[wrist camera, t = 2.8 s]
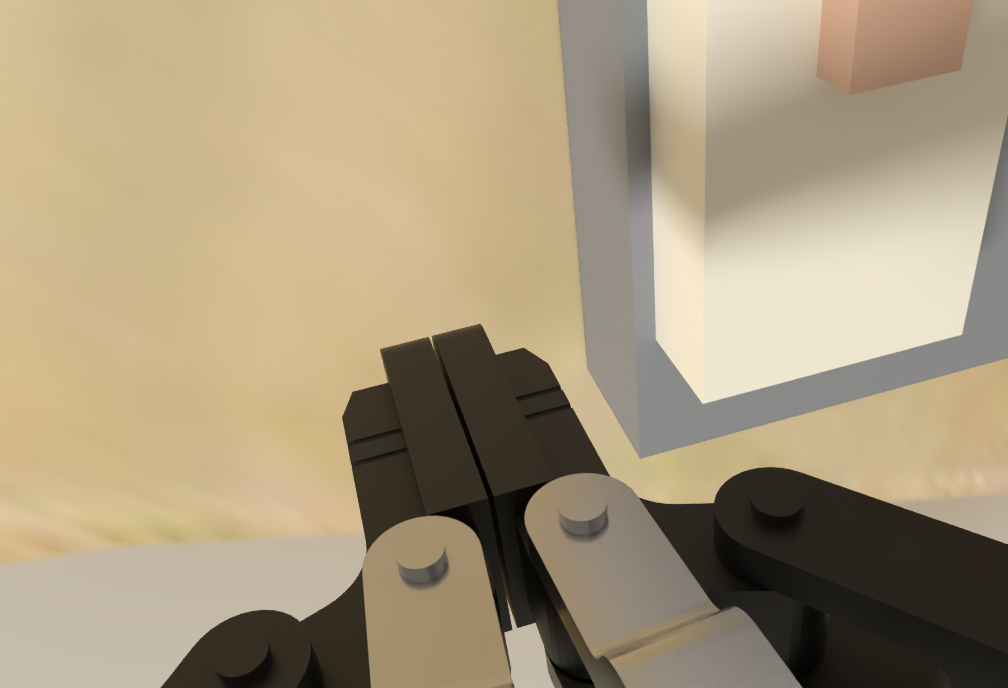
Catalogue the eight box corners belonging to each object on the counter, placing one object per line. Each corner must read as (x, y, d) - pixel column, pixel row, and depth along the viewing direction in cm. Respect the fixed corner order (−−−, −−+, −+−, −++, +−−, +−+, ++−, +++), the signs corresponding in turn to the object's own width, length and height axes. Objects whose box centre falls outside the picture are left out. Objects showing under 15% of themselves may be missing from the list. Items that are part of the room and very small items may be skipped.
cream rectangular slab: (644, -87, 16) (738, -49, 13) (955, -145, 17) (1108, -120, 14) (655, 339, 21) (724, 433, 18) (892, 279, 22) (993, 360, 19)
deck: (531, -323, 17) (606, -336, 14) (1182, -415, 19) (1382, -446, 16) (587, 369, 26) (640, 458, 23) (1021, 258, 28) (1125, 325, 25)
